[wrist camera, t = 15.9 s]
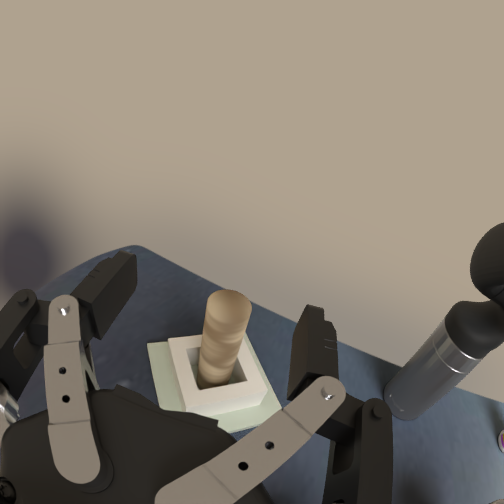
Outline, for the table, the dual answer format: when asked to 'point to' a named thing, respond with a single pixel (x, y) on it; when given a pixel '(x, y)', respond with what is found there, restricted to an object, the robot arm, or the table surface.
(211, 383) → the peg
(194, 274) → the table surface
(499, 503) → the pillar candle
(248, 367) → the socket
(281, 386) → the table surface
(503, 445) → the supplement bottle
